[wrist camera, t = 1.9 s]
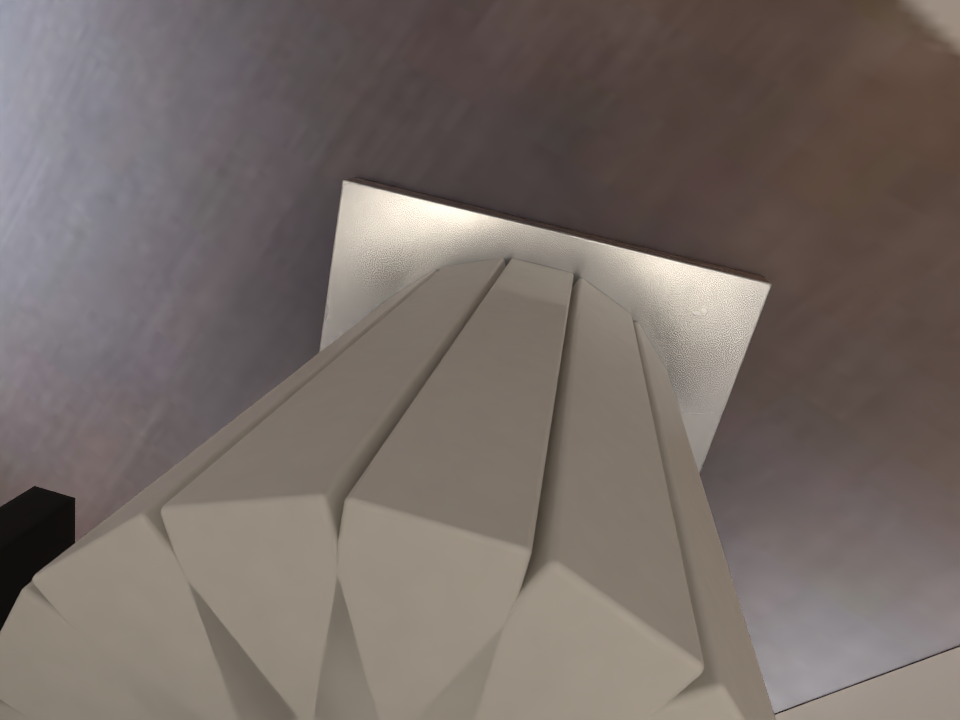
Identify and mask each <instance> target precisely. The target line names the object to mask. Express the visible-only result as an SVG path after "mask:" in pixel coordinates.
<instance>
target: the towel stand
mask: <svg viewBox="0 0 960 720" xmlns="http://www.w3.org/2000/svg"><path fill="white" fill-rule="evenodd" d="M498 258H503V259H504V260H505V266H507V264H508V263H509V261H510V260H511V259H517V260H521V261H525V262H529V263H533V264H537V265H541V266H545V267H549V268H553V269H557V270H561V271H565V272H569V273H572V274H573V275H574V277H573V284H572V287H573V286H574V284H575V283H576V282H577V281H578V279H580V278H582V279H584V280H586V281H587V282H588V283H590V284H591V285H592V286H594V287H595V288H596V289H598V290H599V291H601V292H602V293H603V294H605V295H606V296H607V297H609V298H610V299H611V300H613V301H614V302H615V303H617V304H618V305H619V306H621V307H622V308H624V309H625V310H626V311H628V312H629V313H630V314H631V316H632V320H633V322H638V323H639V324H640V326H641V327H642V329H643V331H644V333H645V334H646V336H647V338H648V339H649V341H650V343H651V345H652V346H653V348H654V350H655V351H656V353H657V355H658V357H659V358H660V360H661V362H662V363H663V365H664V367H665V369H666V370H667V373H668V376H669V379H670V382H671V385H672V388H673V391H674V395H675V398H676V401H677V404H678V407H679V411H680V414H681V417H682V420H683V423H684V427H685V430H686V433H687V436H688V439H689V443H690V446H691V449H692V452H693V456H694V459H695V462H696V465H697V468H698V472H699V475H700V472H701V470H702V467H703V464H704V462H705V459H706V457H707V454H708V451H709V449H710V446H711V444H712V441H713V438H714V436H715V433H716V430H717V428H718V425H719V423H720V420H721V417H722V415H723V412H724V410H725V407H726V404H727V402H728V399H729V396H730V394H731V391H732V389H733V386H734V383H735V381H736V378H737V376H738V373H739V370H740V368H741V365H742V362H743V360H744V357H745V355H746V352H747V349H748V347H749V344H750V342H751V339H752V336H753V334H754V331H755V329H756V326H757V323H758V321H759V318H760V315H761V313H762V310H763V308H764V305H765V302H766V300H767V297H768V295H769V292H770V289H771V287H772V283H770V282H769V281H768V280H767V279H766V278H764V277H763V276H760V275H756V274H752V273H748V272H743V271H739V270H735V269H731V268H727V267H723V266H719V265H715V264H711V263H706V262H702V261H698V260H694V259H690V258H686V257H682V256H678V255H673V254H669V253H665V252H661V251H657V250H653V249H649V248H645V247H641V246H636V245H632V244H628V243H624V242H620V241H616V240H612V239H608V238H603V237H599V236H595V235H591V234H587V233H583V232H579V231H575V230H571V229H566V228H562V227H558V226H554V225H550V224H546V223H542V222H538V221H533V220H529V219H525V218H521V217H517V216H513V215H509V214H505V213H501V212H496V211H492V210H488V209H484V208H480V207H476V206H472V205H468V204H463V203H459V202H455V201H451V200H447V199H443V198H439V197H435V196H431V195H426V194H422V193H418V192H414V191H410V190H406V189H402V188H398V187H394V186H389V185H385V184H381V183H377V182H373V181H369V180H365V179H361V178H356V177H354V178H348V179H343V180H342V187H341V195H340V202H339V209H338V217H337V224H336V231H335V239H334V246H333V253H332V261H331V268H330V275H329V283H328V290H327V297H326V304H325V312H324V319H323V326H322V334H321V341H320V348H319V353H320V352H321V351H322V350H324V349H325V348H326V347H327V346H329V345H330V344H331V343H332V342H334V341H335V340H336V339H338V338H339V337H340V336H341V335H343V334H344V333H345V332H347V331H348V330H349V329H350V328H352V327H353V326H354V325H356V324H357V323H358V322H359V321H361V320H362V319H363V318H365V317H366V316H367V315H368V314H370V313H371V312H372V311H374V310H375V309H376V308H377V307H379V306H380V305H381V304H383V303H384V302H385V301H386V300H388V299H389V298H391V297H392V296H394V295H396V294H397V293H399V292H400V291H402V290H404V289H405V288H407V287H408V286H410V285H412V284H413V283H415V282H416V281H418V280H419V279H421V278H423V277H424V276H426V275H427V274H429V273H431V272H432V271H434V270H436V271H437V272H438V271H439V270H441V269H442V268H443V267H446V266H452V265H459V264H466V263H472V262H479V261H485V260H492V259H498Z"/></svg>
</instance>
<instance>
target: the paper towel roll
mask: <svg viewBox="0 0 960 720" xmlns="http://www.w3.org/2000/svg"><path fill="white" fill-rule="evenodd" d="M573 277H574V275H573V274H572V273H569V272H565V271H561V270H557V269H553V268H549V267H545V266H541V265H537V264H533V263H529V262H525V261H521V260H517V259H511V260H510V261H509V263H508V264H507V266H505V260H504V259H503V258H498V259H492V260H485V261H479V262H472V263H466V264H459V265H452V266H446V267H443V268H442V269H441V270H439V271H438V272H437V271H436V270H434V271H432V272H431V273H429V274H427V275H426V276H424V277H423V278H421V279H419V280H418V281H416V282H415V283H413V284H412V285H410V286H408V287H407V288H405V289H404V290H402V291H400V292H399V293H397V294H396V295H394V296H392V297H391V298H389V299H388V300H386V301H385V302H384V303H383V304H381V305H380V306H379V307H377V308H376V309H375V310H374V311H372V312H371V313H370V314H368V315H367V316H366V317H365V318H363V319H362V320H361V321H359V322H358V323H357V324H356V325H354V326H353V327H352V328H350V329H349V330H348V331H347V332H345V333H344V334H343V335H341V336H340V337H339V338H338V339H336V340H335V341H334V342H332V343H331V344H330V345H329V346H327V347H326V348H325V349H324V350H322V351H321V352H320V353H318V354H317V355H316V356H315V357H313V358H312V359H311V360H309V361H308V362H307V363H306V364H304V365H303V366H302V367H300V368H299V369H298V370H297V371H295V372H294V373H293V374H291V375H290V376H289V377H288V378H286V379H285V380H284V381H282V382H281V383H280V384H279V385H277V386H276V387H275V388H273V389H272V390H271V391H270V392H268V393H267V394H266V395H264V396H263V397H262V398H261V399H259V400H258V401H257V402H256V403H254V404H253V405H252V406H250V407H249V408H248V409H247V410H245V411H244V412H243V413H241V414H240V415H239V416H238V417H236V418H235V419H234V420H232V421H231V422H230V423H229V424H227V425H226V426H225V427H223V428H222V429H221V430H220V431H218V432H217V433H216V434H214V435H213V436H212V437H211V438H209V439H208V440H207V441H205V442H204V443H203V444H202V445H200V446H199V447H198V448H196V449H195V450H194V451H193V452H191V453H190V454H189V455H188V456H186V457H185V458H184V459H182V460H181V461H180V462H179V463H177V464H176V465H175V466H173V467H172V468H171V469H170V470H168V471H167V472H166V473H164V474H163V475H162V476H161V477H159V478H158V479H157V480H155V481H154V482H153V483H152V484H150V485H149V486H148V487H146V488H145V489H144V490H143V491H141V492H140V493H139V494H137V495H136V496H135V497H134V498H132V499H131V500H130V501H129V502H127V503H126V504H125V505H123V506H122V507H121V508H120V509H118V510H117V511H116V512H114V513H113V514H112V515H111V516H109V517H108V518H107V519H105V520H104V521H103V522H102V523H100V524H99V525H98V526H96V527H95V528H94V529H93V530H91V531H90V532H89V533H87V534H86V535H85V536H84V537H82V538H81V539H80V540H78V541H77V542H76V543H75V544H73V545H72V546H71V547H69V548H68V549H67V550H66V551H64V552H63V553H62V554H61V555H59V556H58V557H57V558H55V559H54V560H53V561H52V562H50V563H49V564H48V565H46V566H45V567H44V568H43V569H41V570H40V571H39V572H37V573H36V574H35V575H34V577H33V578H32V581H31V582H30V583H29V584H28V585H26V586H25V587H24V588H23V589H22V590H21V592H20V594H19V596H18V598H17V600H16V602H15V604H14V606H13V608H12V610H11V612H10V614H9V616H8V618H7V620H6V622H5V624H4V626H3V627H2V629H1V631H0V720H776V719H775V716H774V712H773V709H772V706H771V703H770V699H769V696H768V693H767V690H766V687H765V683H764V680H763V677H762V674H761V671H760V667H759V664H758V661H757V658H756V655H755V651H754V648H753V645H752V642H751V638H750V635H749V632H748V629H747V626H746V622H745V619H744V616H743V613H742V610H741V606H740V603H739V600H738V597H737V594H736V590H735V587H734V584H733V581H732V578H731V574H730V571H729V568H728V565H727V561H726V558H725V555H724V552H723V549H722V545H721V542H720V539H719V536H718V533H717V529H716V526H715V523H714V520H713V517H712V513H711V510H710V507H709V504H708V500H707V497H706V494H705V491H704V488H703V484H702V481H701V478H700V475H699V472H698V468H697V465H696V462H695V459H694V456H693V452H692V449H691V446H690V443H689V439H688V436H687V433H686V430H685V427H684V423H683V420H682V417H681V414H680V411H679V407H678V404H677V401H676V398H675V395H674V391H673V388H672V385H671V382H670V379H669V376H668V373H667V370H666V369H665V367H664V365H663V363H662V362H661V360H660V358H659V357H658V355H657V353H656V351H655V350H654V348H653V346H652V345H651V343H650V341H649V339H648V338H647V336H646V334H645V333H644V331H643V329H642V327H641V326H640V324H639V323H638V322H633V320H632V316H631V314H630V313H629V312H628V311H626V310H625V309H624V308H622V307H621V306H619V305H618V304H617V303H615V302H614V301H613V300H611V299H610V298H609V297H607V296H606V295H605V294H603V293H602V292H601V291H599V290H598V289H596V288H595V287H594V286H592V285H591V284H590V283H588V282H587V281H586V280H584V279H582V278H580V279H578V281H577V282H576V283H575V284H574V286H573V287H572V284H573Z"/></svg>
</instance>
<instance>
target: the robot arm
mask: <svg viewBox="0 0 960 720" xmlns="http://www.w3.org/2000/svg"><path fill="white" fill-rule="evenodd" d="M73 544H75V498H73V497H70V496H66V495H63V494H59V493H56V492H53V491H49V490H46V489H43V488H39V487H36V486H34V487H32V488H31V489H29V490H27V491H26V492H24V493H22V494H21V495H19V496H17V497H16V498H14V499H13V500H11V501H9V502H8V503H6V504H4V505H3V506H1V507H0V631H1V629H2V627H3V626H4V624H5V622H6V620H7V618H8V616H9V614H10V612H11V610H12V608H13V606H14V604H15V602H16V600H17V598H18V596H19V594H20V592H21V590H22V589H23V588H24V587H25V586H26V585H28V584H29V583H30V582H31V581H32V578H33V577H34V575H35V574H36V573H37V572H39V571H40V570H41V569H43V568H44V567H45V566H46V565H48V564H49V563H50V562H52V561H53V560H54V559H55V558H57V557H58V556H59V555H61V554H62V553H63V552H64V551H66V550H67V549H68V548H69V547H71V546H72V545H73Z"/></svg>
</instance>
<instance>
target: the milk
mask: <svg viewBox="0 0 960 720" xmlns="http://www.w3.org/2000/svg"><path fill="white" fill-rule="evenodd" d="M774 716H775V719H776V720H960V647H958V648H955V649H952V650H949V651H947V652H944V653H941V654H939V655H936V656H933V657H930V658H928V659H925V660H922V661H920V662H917V663H914V664H911V665H909V666H906V667H903V668H901V669H898V670H895V671H892V672H890V673H887V674H884V675H882V676H879V677H876V678H873V679H871V680H868V681H865V682H863V683H860V684H857V685H854V686H852V687H849V688H846V689H844V690H841V691H838V692H835V693H833V694H830V695H827V696H825V697H822V698H819V699H816V700H814V701H811V702H808V703H806V704H803V705H800V706H798V707H795V708H792V709H789V710H787V711H784V712H781V713H779V714H776V715H774Z"/></svg>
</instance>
